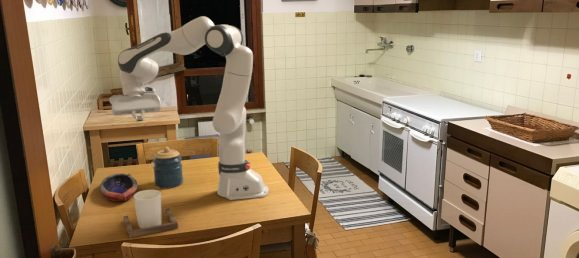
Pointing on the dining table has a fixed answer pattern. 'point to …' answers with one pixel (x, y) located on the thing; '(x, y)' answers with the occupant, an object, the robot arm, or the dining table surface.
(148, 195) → the candle holder
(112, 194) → the dish
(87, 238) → the dining table surface
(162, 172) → the canister
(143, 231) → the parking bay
